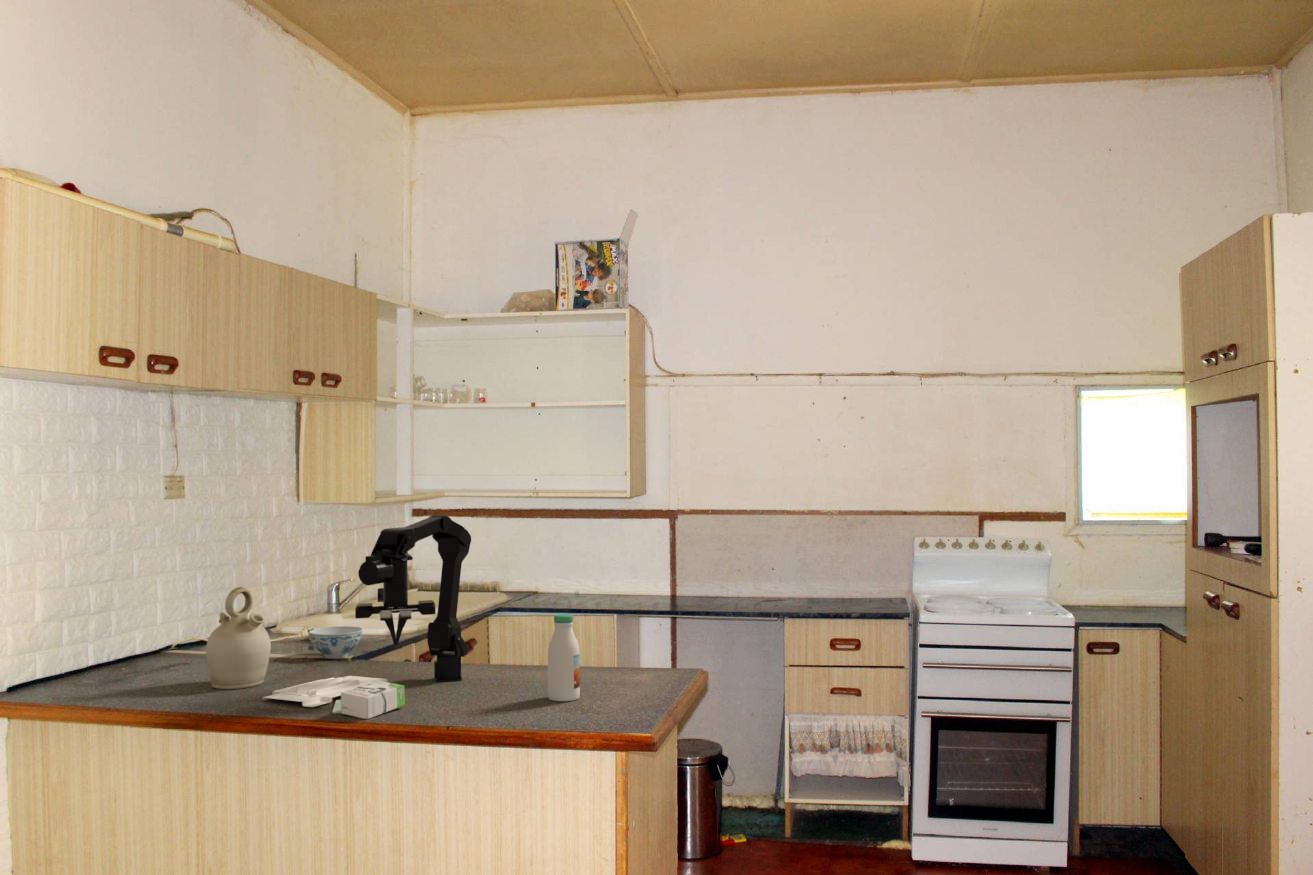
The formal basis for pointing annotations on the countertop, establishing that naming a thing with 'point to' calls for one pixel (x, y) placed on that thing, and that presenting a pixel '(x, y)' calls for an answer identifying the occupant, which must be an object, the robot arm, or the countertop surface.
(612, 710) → the countertop surface
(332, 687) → the tray
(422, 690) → the countertop surface
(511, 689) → the countertop surface
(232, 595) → the jug
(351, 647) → the chinaware
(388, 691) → the ink box
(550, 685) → the milk bottle
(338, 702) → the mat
